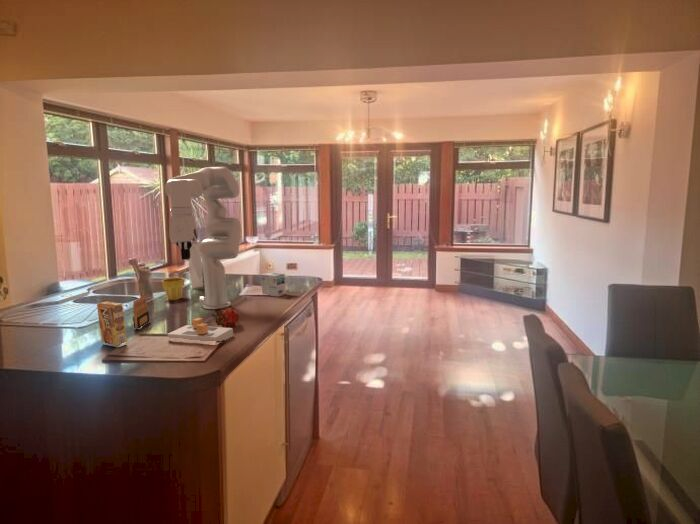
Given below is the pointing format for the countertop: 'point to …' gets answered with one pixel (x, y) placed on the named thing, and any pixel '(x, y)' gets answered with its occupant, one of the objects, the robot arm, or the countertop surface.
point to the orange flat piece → (140, 312)
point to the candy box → (111, 323)
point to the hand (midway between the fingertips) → (186, 258)
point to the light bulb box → (273, 284)
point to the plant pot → (173, 288)
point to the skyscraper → (196, 267)
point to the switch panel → (211, 335)
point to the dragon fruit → (227, 317)
